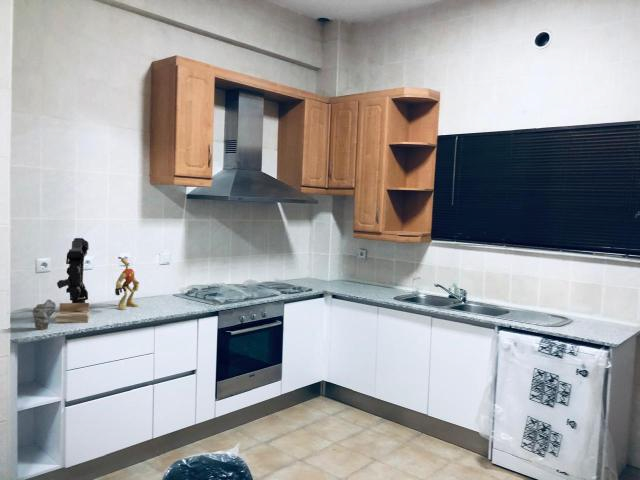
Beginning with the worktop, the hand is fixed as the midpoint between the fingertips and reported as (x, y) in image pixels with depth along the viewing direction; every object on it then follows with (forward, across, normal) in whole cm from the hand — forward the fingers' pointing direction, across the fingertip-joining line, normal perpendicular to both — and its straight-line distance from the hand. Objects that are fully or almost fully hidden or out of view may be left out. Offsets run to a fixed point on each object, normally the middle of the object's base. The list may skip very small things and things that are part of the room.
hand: (74, 303), depth 283 cm
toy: (+8, -22, +25) cm, 34 cm away
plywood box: (+8, +8, 0) cm, 11 cm away
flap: (+1, +2, 0) cm, 3 cm away
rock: (+8, +23, -11) cm, 27 cm away
